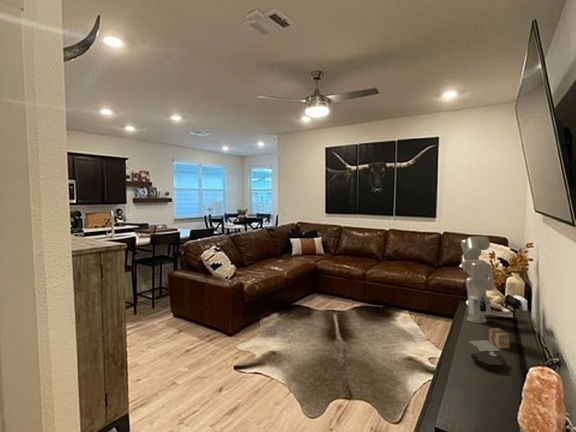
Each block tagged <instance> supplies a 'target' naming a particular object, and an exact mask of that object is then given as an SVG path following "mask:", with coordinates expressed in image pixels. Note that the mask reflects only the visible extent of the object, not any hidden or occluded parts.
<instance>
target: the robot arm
mask: <svg viewBox="0 0 576 432" xmlns="http://www.w3.org/2000/svg"><path fill="white" fill-rule="evenodd" d="M460 244H461V245H460V246H461V250H462V253H463V254H462V255H461V267H462V269H463V271H464V272H465V271H466V272H467V274H468V277H466V279H465V287H466V291H467V292H466V293H467V302H468V303H467V304H468V311H467V314H468V316H466V320H467V321H469V322H470V321H471V323H474V322H475V323H476V324H484V323H487V318H486V317H485V315H473V314H472V313H470V310H469V296H473V297H475V298H477V299H478V301H480V303H481V305H480V311H481V312H483V311H486V304H487V302H488V301H487V297H488V296H487V292H491V291H494V289H495V280H494V272H493V268H492V265H491V264H490V263H488V262H486V261H485V260H484V259H480V258H479V257H480V256H481V255H482V253H483V252H482V251H486V250H488V249H489V248H490V245H491V242H490V238H489V237H488V236H482V235H481V236H469V237H467V238H466V239H462V241H461V243H460ZM469 275H472V277H469ZM482 299H483V300H482ZM482 301H484V302H483V303H482ZM475 323H474V324H475Z"/></svg>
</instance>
